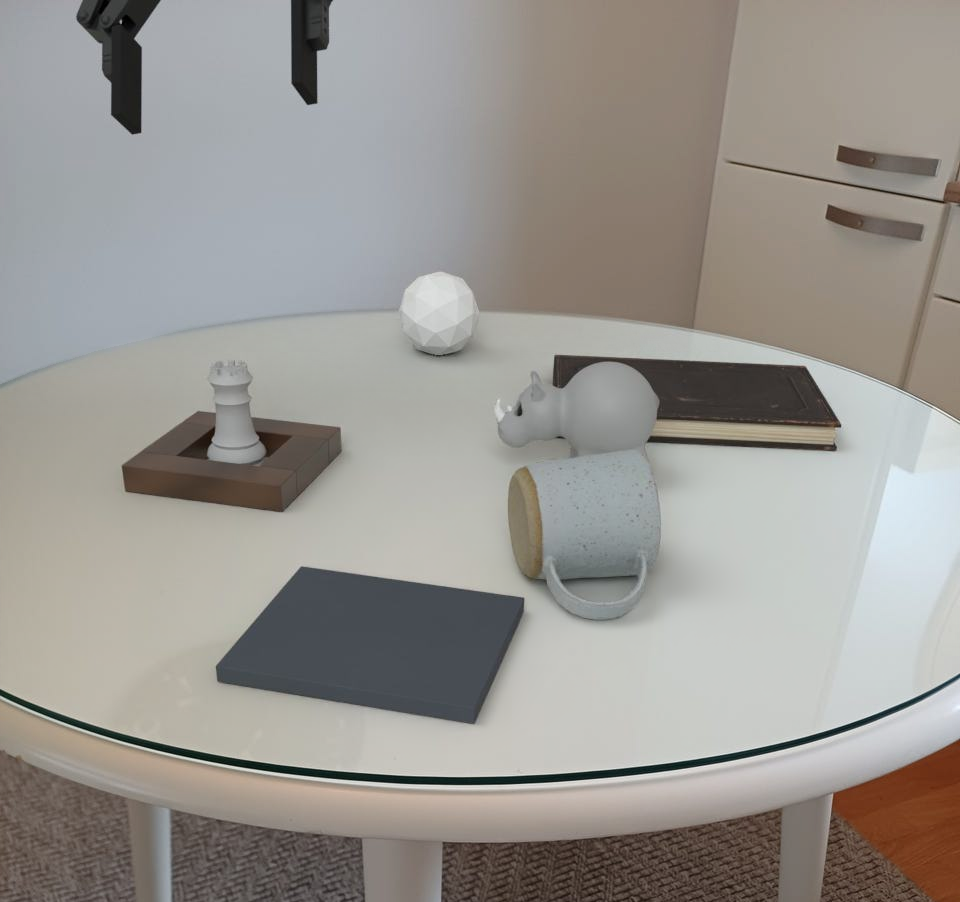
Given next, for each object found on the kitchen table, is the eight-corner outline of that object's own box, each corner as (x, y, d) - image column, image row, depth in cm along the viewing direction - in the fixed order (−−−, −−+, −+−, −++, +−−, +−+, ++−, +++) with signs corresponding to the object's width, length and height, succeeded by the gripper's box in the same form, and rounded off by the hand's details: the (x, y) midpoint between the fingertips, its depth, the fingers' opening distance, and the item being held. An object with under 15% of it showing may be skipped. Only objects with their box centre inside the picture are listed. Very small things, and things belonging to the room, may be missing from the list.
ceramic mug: (500, 549, 74) (505, 438, 69) (619, 540, 75) (630, 431, 71) (541, 632, 65) (550, 511, 61) (675, 620, 66) (692, 501, 62)
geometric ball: (447, 385, 111) (443, 334, 104) (386, 343, 113) (378, 290, 106) (495, 335, 113) (495, 282, 106) (435, 295, 115) (430, 240, 108)
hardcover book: (836, 451, 91) (841, 423, 89) (551, 437, 92) (552, 410, 90) (800, 388, 104) (804, 363, 103) (552, 376, 105) (554, 352, 104)
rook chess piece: (219, 457, 86) (209, 353, 82) (276, 461, 86) (268, 357, 82) (199, 479, 82) (187, 372, 78) (258, 484, 82) (249, 376, 78)
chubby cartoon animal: (492, 453, 88) (496, 345, 84) (645, 458, 88) (656, 351, 84) (491, 489, 82) (495, 375, 78) (655, 495, 82) (668, 381, 78)
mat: (216, 681, 59) (215, 665, 59) (301, 580, 69) (301, 565, 69) (474, 724, 56) (474, 708, 56) (524, 612, 67) (524, 597, 66)
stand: (124, 491, 80) (120, 465, 79) (200, 434, 90) (197, 410, 89) (282, 512, 78) (280, 485, 77) (341, 451, 88) (341, 426, 87)
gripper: (397, -174, 80) (401, 110, 79) (89, -104, 87) (86, 161, 85) (360, -263, 73) (364, 47, 71) (27, -180, 79) (23, 108, 78)
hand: (213, 109), depth 78 cm, fingers open, 13 cm apart
